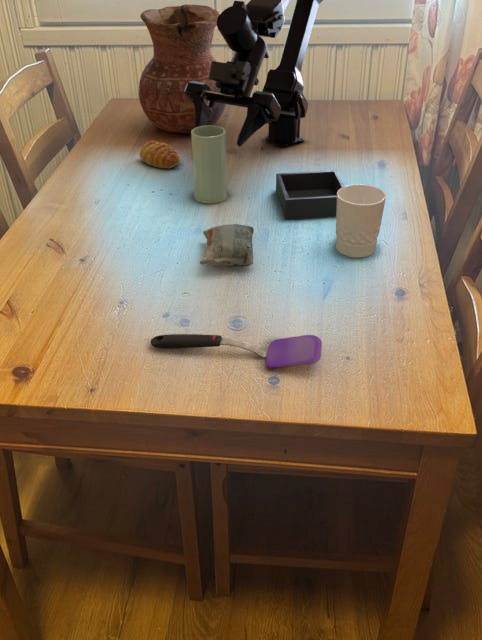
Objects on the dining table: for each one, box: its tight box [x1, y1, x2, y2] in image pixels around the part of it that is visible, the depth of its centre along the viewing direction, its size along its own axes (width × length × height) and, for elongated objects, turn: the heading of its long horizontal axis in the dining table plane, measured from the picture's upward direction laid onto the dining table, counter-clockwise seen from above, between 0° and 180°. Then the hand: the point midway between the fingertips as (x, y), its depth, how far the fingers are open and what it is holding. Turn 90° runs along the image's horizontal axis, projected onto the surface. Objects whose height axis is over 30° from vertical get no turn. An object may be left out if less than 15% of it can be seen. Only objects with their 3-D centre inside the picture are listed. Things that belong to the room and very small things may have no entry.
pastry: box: [139, 140, 181, 169], centre depth 148 cm, size 9×7×4 cm
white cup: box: [335, 183, 387, 259], centre depth 115 cm, size 8×8×10 cm
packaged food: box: [199, 223, 255, 268], centre depth 115 cm, size 9×12×5 cm
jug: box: [138, 3, 227, 135], centre depth 160 cm, size 22×21×25 cm
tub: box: [275, 169, 346, 221], centre depth 131 cm, size 12×12×4 cm
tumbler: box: [190, 124, 228, 204], centre depth 132 cm, size 6×6×13 cm
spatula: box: [150, 333, 323, 369], centre depth 95 cm, size 24×7×2 cm, turn 80°
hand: (217, 141), depth 131 cm, fingers open, 9 cm apart
